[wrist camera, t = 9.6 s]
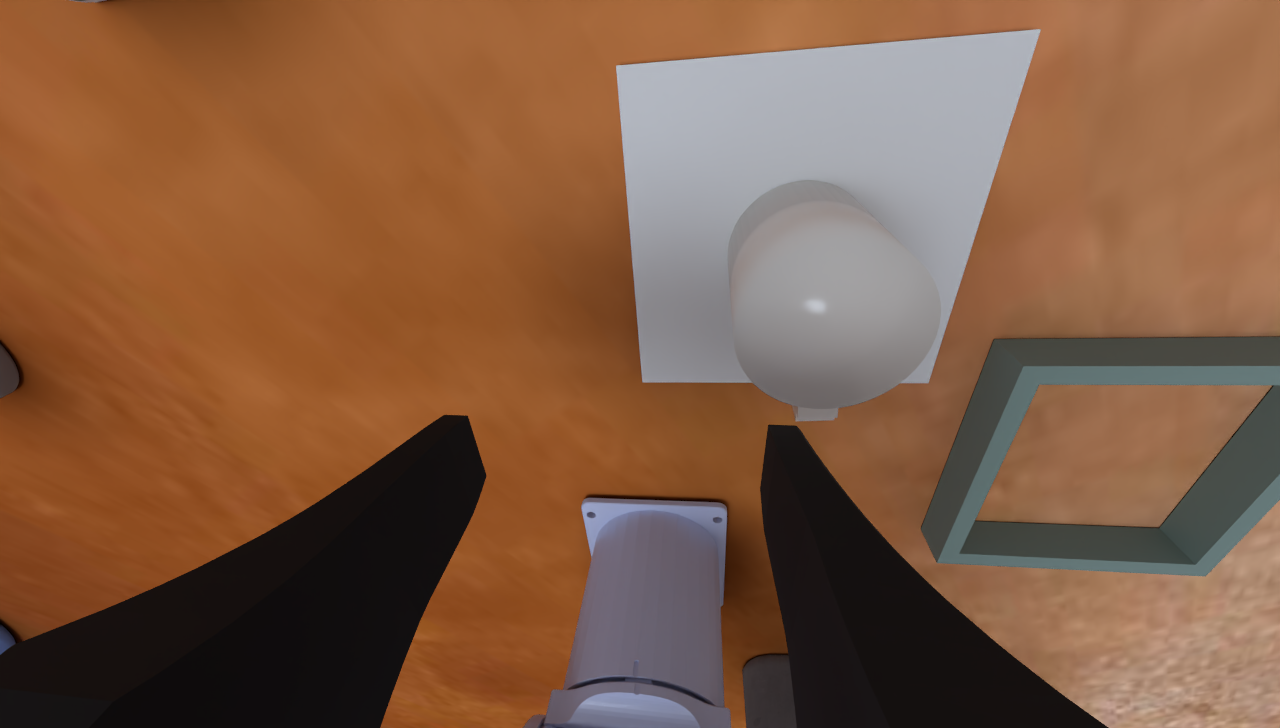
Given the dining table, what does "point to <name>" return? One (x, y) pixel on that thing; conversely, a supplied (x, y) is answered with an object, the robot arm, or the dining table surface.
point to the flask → (769, 692)
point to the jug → (825, 300)
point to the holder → (1184, 545)
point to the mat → (804, 168)
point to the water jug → (5, 639)
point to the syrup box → (87, 0)
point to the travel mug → (7, 373)
